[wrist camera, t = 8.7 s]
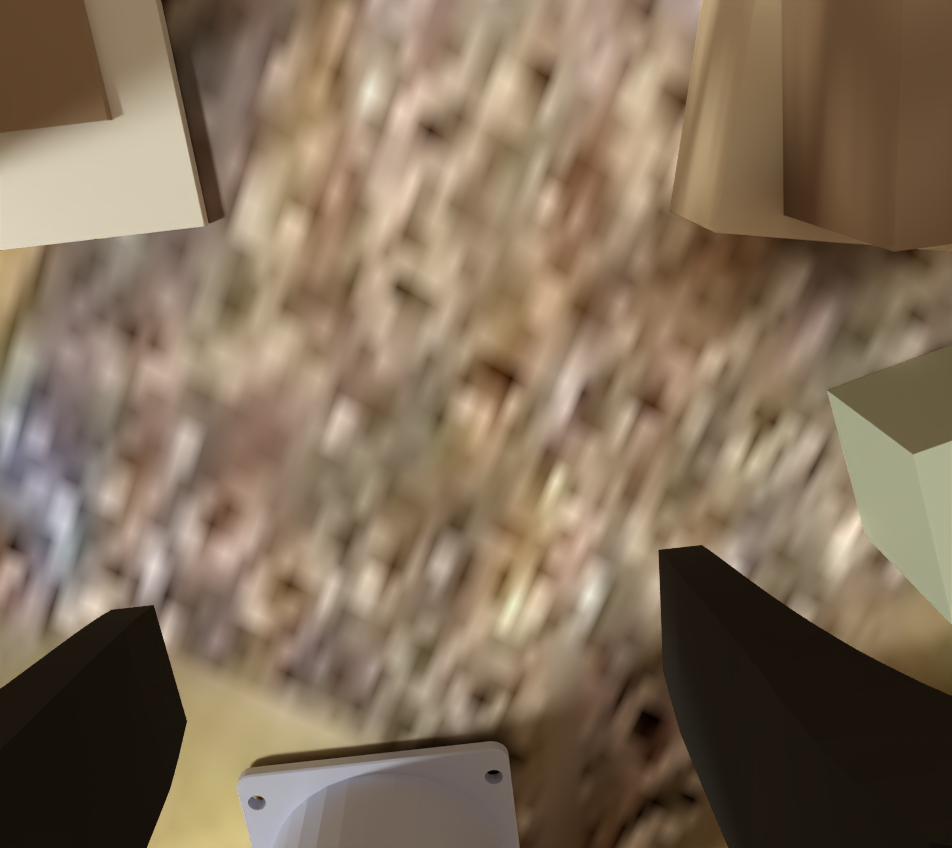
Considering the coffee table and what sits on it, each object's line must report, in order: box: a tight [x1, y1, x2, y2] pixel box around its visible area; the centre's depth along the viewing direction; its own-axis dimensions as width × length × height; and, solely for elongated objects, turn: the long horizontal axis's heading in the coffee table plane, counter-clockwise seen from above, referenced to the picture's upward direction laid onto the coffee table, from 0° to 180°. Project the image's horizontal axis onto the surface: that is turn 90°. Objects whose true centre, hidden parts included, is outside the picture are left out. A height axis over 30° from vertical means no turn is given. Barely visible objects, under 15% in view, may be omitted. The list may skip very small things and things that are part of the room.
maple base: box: [670, 0, 952, 252], centre depth 18 cm, size 6×6×4 cm
